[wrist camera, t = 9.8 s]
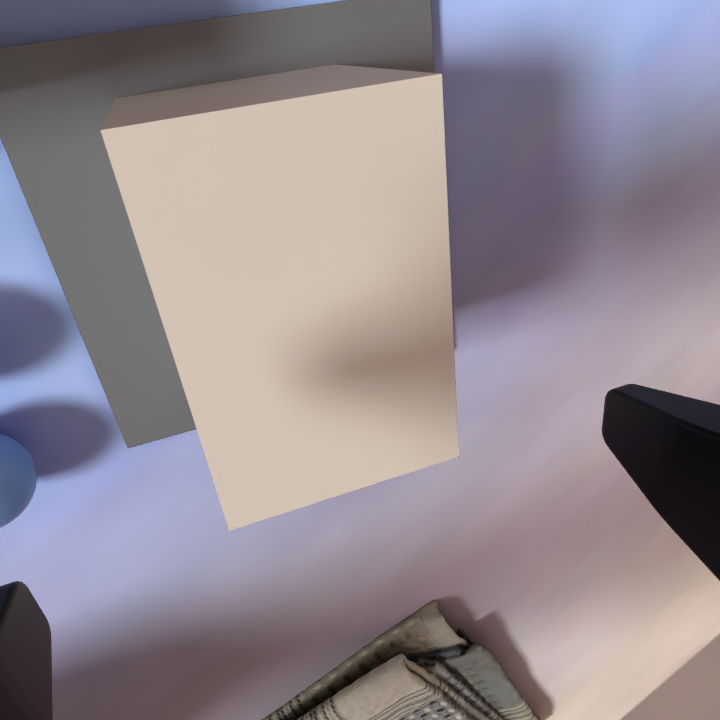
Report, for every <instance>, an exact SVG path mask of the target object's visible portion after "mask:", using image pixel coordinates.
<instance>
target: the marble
mask: <svg viewBox="0 0 720 720" xmlns="http://www.w3.org/2000/svg"><path fill="white" fill-rule="evenodd" d="M36 481H37V473H36V467H35V464H34V461H33V459H32V457H31V455H30V454H29V452H28V451H27V450H26V449H25V448H24V447H23V446H22V445H21V444H20V443H18V442H17V441H16V440H14V439H12V438H10V437H7V436H5V435H2V434H0V528H1V527H3V526H5V525H6V524H8V523H10V522H11V521H13V520H14V519H15V518H16V517H18V516H19V515H20V514H21V513H22V512H23V511H24V509H25V508H26V507H27V505H28V504H29V502H30V501H31V499H32V497H33V494H34V491H35V488H36Z"/></svg>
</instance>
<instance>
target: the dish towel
mask: <svg viewBox="0 0 720 720" xmlns="http://www.w3.org/2000/svg"><path fill="white" fill-rule="evenodd" d="M438 606H439V604H438V603H437V601H436V600H434V601H432V602H430V603H429V604H427V605H425V606H424V607H422V608H421V609H420V610H418V611H417V612H416V613H414V614H413V615H411V616H410V617H408V618H407V619H405V620H403V621H402V622H400V623H399V624H397V625H396V626H394V627H392V628H391V629H390V630H388V631H386V632H385V633H384V634H382V635H380V636H378V637H377V638H376V639H375V640H374V641H372V642H371V643H370V644H368V645H367V646H365V647H363V648H362V649H361V650H359V651H358V652H357V653H356V654H354V655H353V656H351V657H350V658H348V659H347V660H345V661H344V662H343V663H342V664H340V665H339V666H338V667H336V668H334V669H333V670H331V671H330V672H329V673H328V674H326V675H325V676H324V677H322V678H321V679H319V680H318V681H316V682H315V683H314V684H312V685H311V686H310V687H308V688H307V689H305V690H304V691H302V692H301V693H300V694H298V695H297V696H296V697H294V698H293V699H291V700H290V701H289V702H287V703H286V704H284V705H283V706H282V707H280V708H279V709H277V710H276V711H275V712H273V713H272V714H270V715H269V716H267V717H265V718H264V719H262V720H540V718H539V717H536V716H535V715H534V714H533V713H532V711H531V708H530V707H529V705H528V704H527V703H526V702H525V700H524V699H523V697H522V696H520V695H519V693H518V691H517V690H516V689H515V688H514V686H513V684H512V683H511V681H510V679H509V678H508V677H507V676H506V674H505V672H504V671H503V669H502V667H501V665H500V663H499V662H498V661H497V660H496V658H495V657H494V656H493V654H492V652H491V651H489V650H488V649H486V648H485V647H484V646H482V645H481V644H480V643H474V642H473V640H472V639H471V638H470V637H469V636H468V635H467V634H466V633H465V632H464V631H463V630H461V629H458V631H457V632H456V633H455V632H454V630H453V629H452V628H451V627H450V626H449V625H448V624H447V623H446V619H444V617H443V616H442V615H441V613H440V612H439V610H438Z"/></svg>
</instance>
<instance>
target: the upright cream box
mask: <svg viewBox="0 0 720 720" xmlns="http://www.w3.org/2000/svg"><path fill="white" fill-rule="evenodd" d="M100 131H101V134H102V137H103V140H104V143H105V146H106V149H107V152H108V155H109V159H110V162H111V165H112V168H113V171H114V174H115V177H116V180H117V183H118V187H119V190H120V193H121V196H122V199H123V202H124V205H125V208H126V211H127V214H128V218H129V221H130V224H131V227H132V230H133V233H134V236H135V239H136V242H137V245H138V249H139V252H140V255H141V258H142V261H143V264H144V267H145V270H146V273H147V277H148V280H149V283H150V286H151V289H152V292H153V295H154V298H155V301H156V304H157V308H158V311H159V314H160V317H161V320H162V323H163V326H164V329H165V332H166V336H167V339H168V342H169V345H170V348H171V351H172V354H173V357H174V360H175V363H176V367H177V370H178V373H179V376H180V379H181V382H182V385H183V388H184V391H185V395H186V398H187V401H188V404H189V407H190V410H191V413H192V416H193V419H194V422H195V426H196V429H197V432H198V435H199V438H200V441H201V444H202V447H203V450H204V453H205V457H206V460H207V463H208V466H209V469H210V472H211V475H212V478H213V481H214V485H215V488H216V491H217V494H218V497H219V500H220V503H221V506H222V509H223V512H224V516H225V519H226V522H227V525H228V528H229V531H230V530H233V529H236V528H239V527H242V526H245V525H248V524H251V523H255V522H258V521H261V520H264V519H267V518H270V517H273V516H276V515H279V514H282V513H286V512H289V511H292V510H295V509H298V508H301V507H304V506H307V505H310V504H314V503H317V502H320V501H323V500H326V499H329V498H332V497H335V496H338V495H341V494H345V493H348V492H351V491H354V490H357V489H360V488H363V487H366V486H369V485H372V484H376V483H379V482H382V481H385V480H388V479H391V478H394V477H397V476H400V475H404V474H407V473H410V472H413V471H416V470H419V469H422V468H425V467H428V466H431V465H435V464H438V463H441V462H444V461H447V460H450V459H453V458H456V457H459V447H458V425H457V402H456V380H455V357H454V335H453V312H452V289H451V267H450V244H449V222H448V199H447V177H446V154H445V132H444V109H443V86H442V74H440V73H429V72H417V71H406V70H394V69H383V68H371V67H360V66H349V65H337V64H334V65H327V66H321V67H315V68H308V69H302V70H295V71H289V72H282V73H276V74H269V75H263V76H257V77H250V78H244V79H237V80H231V81H224V82H218V83H211V84H205V85H199V86H192V87H186V88H179V89H173V90H166V91H160V92H153V93H147V94H141V95H134V96H128V97H121V98H115V100H114V103H113V105H112V107H111V109H110V111H109V113H108V115H107V117H106V119H105V122H104V124H103V126H102V128H101V130H100Z"/></svg>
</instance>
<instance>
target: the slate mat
mask: <svg viewBox="0 0 720 720" xmlns="http://www.w3.org/2000/svg"><path fill="white" fill-rule="evenodd" d="M334 64H337V65H349V66H360V67H371V68H383V69H394V70H406V71H417V72H429V73H434V54H433V36H432V17H431V0H346V1H338V2H331V3H324V4H316V5H309V6H302V7H294V8H287V9H280V10H272V11H265V12H258V13H250V14H243V15H236V16H228V17H221V18H214V19H206V20H199V21H192V22H184V23H177V24H170V25H162V26H155V27H148V28H140V29H133V30H126V31H118V32H111V33H104V34H96V35H89V36H82V37H74V38H67V39H60V40H52V41H45V42H38V43H30V44H23V45H16V46H8V47H1V48H0V138H1V140H2V143H3V145H4V148H5V150H6V152H7V155H8V157H9V160H10V162H11V165H12V167H13V170H14V172H15V174H16V177H17V179H18V182H19V184H20V187H21V189H22V192H23V194H24V196H25V199H26V201H27V204H28V206H29V209H30V211H31V213H32V216H33V218H34V221H35V223H36V226H37V228H38V231H39V233H40V235H41V238H42V240H43V243H44V245H45V248H46V250H47V253H48V255H49V257H50V260H51V262H52V265H53V267H54V270H55V272H56V274H57V277H58V279H59V282H60V284H61V287H62V289H63V292H64V294H65V296H66V299H67V301H68V304H69V306H70V309H71V311H72V314H73V316H74V318H75V321H76V323H77V326H78V328H79V331H80V333H81V335H82V338H83V340H84V343H85V345H86V348H87V350H88V353H89V355H90V357H91V360H92V362H93V365H94V367H95V370H96V372H97V375H98V377H99V379H100V382H101V384H102V387H103V389H104V392H105V394H106V396H107V399H108V401H109V404H110V406H111V409H112V411H113V414H114V416H115V418H116V421H117V423H118V426H119V428H120V431H121V433H122V436H123V438H124V440H125V443H126V445H127V448H131V447H135V446H138V445H142V444H145V443H149V442H152V441H156V440H159V439H163V438H166V437H170V436H174V435H177V434H181V433H184V432H188V431H191V430H195V429H196V426H195V422H194V419H193V416H192V413H191V410H190V407H189V404H188V401H187V398H186V395H185V391H184V388H183V385H182V382H181V379H180V376H179V373H178V370H177V367H176V363H175V360H174V357H173V354H172V351H171V348H170V345H169V342H168V339H167V336H166V332H165V329H164V326H163V323H162V320H161V317H160V314H159V311H158V308H157V304H156V301H155V298H154V295H153V292H152V289H151V286H150V283H149V280H148V277H147V273H146V270H145V267H144V264H143V261H142V258H141V255H140V252H139V249H138V245H137V242H136V239H135V236H134V233H133V230H132V227H131V224H130V221H129V218H128V214H127V211H126V208H125V205H124V202H123V199H122V196H121V193H120V190H119V187H118V183H117V180H116V177H115V174H114V171H113V168H112V165H111V162H110V159H109V155H108V152H107V149H106V146H105V143H104V140H103V137H102V134H101V131H100V130H101V128H102V126H103V124H104V122H105V119H106V117H107V115H108V113H109V111H110V109H111V107H112V105H113V103H114V100H115V98H121V97H128V96H134V95H141V94H147V93H153V92H160V91H166V90H173V89H179V88H186V87H192V86H199V85H205V84H211V83H218V82H224V81H231V80H237V79H244V78H250V77H257V76H263V75H269V74H276V73H282V72H289V71H295V70H302V69H308V68H315V67H321V66H327V65H334Z"/></svg>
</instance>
